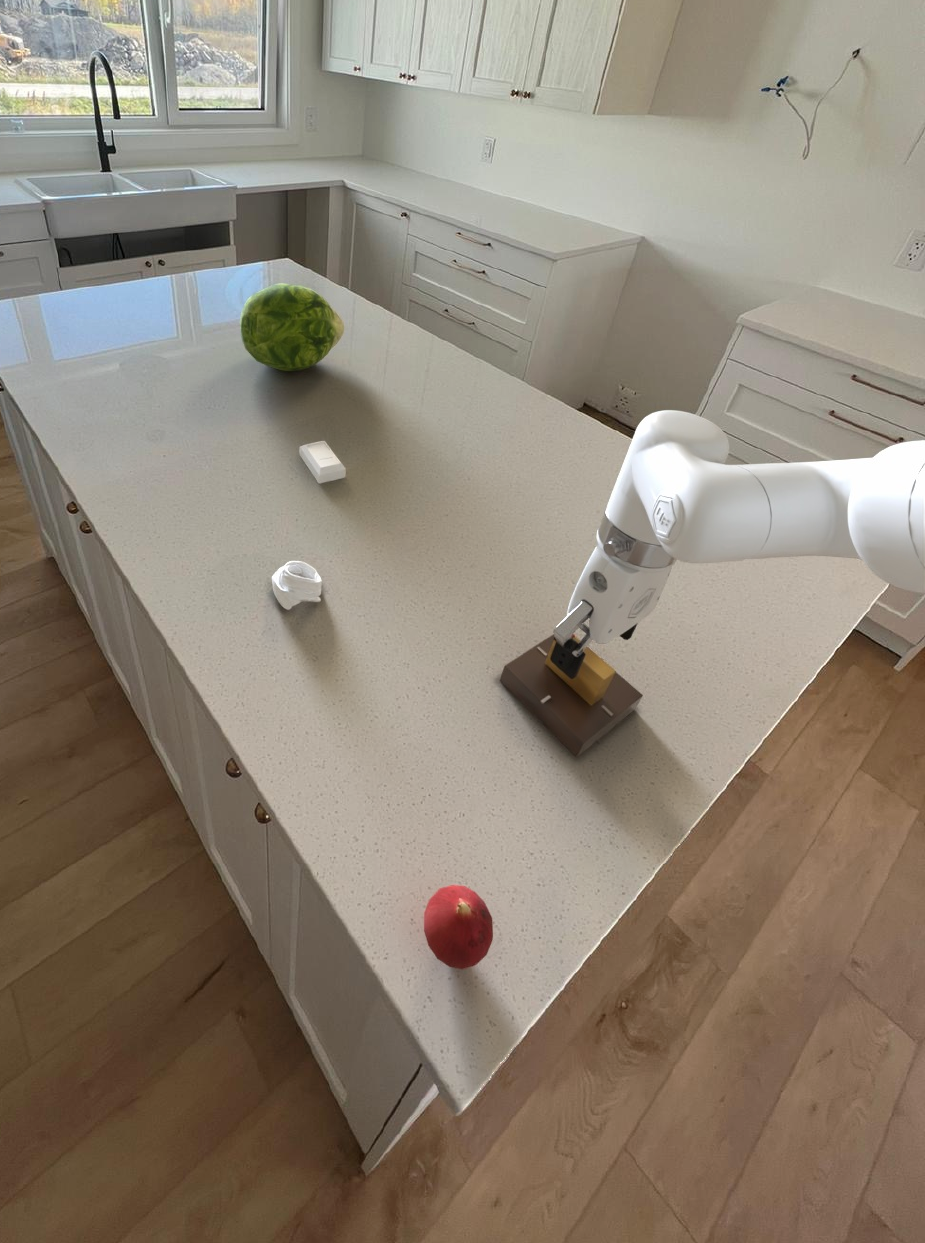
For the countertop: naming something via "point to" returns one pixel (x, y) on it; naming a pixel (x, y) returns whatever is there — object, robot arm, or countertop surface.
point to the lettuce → (289, 327)
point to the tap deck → (567, 699)
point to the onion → (458, 926)
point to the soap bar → (322, 462)
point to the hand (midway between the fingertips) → (590, 649)
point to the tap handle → (587, 675)
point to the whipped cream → (296, 584)
